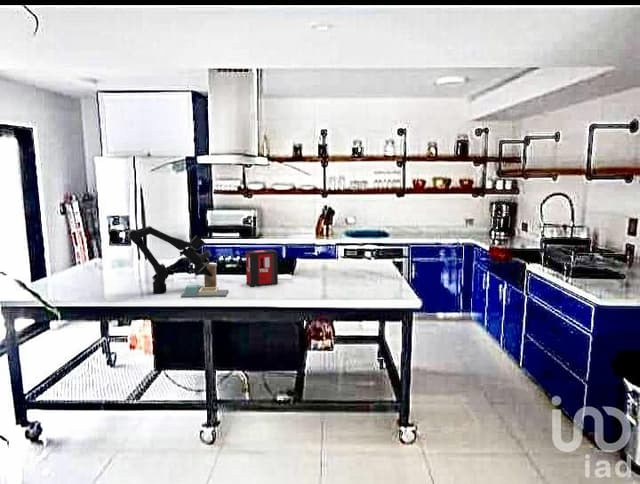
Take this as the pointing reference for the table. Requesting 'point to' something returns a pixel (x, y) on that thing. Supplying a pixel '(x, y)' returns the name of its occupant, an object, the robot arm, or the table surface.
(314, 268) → the table surface
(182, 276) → the table surface
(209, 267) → the pillar
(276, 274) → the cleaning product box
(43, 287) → the table surface
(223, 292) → the board
